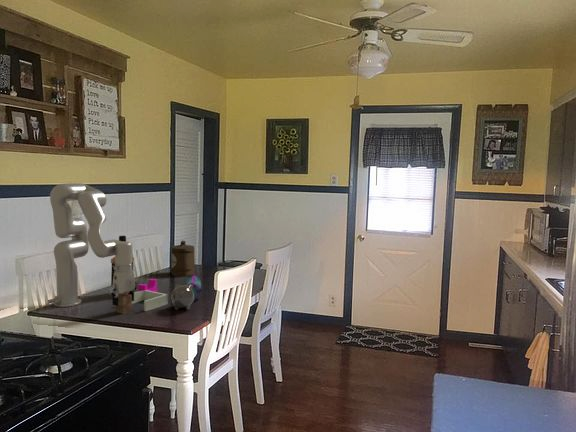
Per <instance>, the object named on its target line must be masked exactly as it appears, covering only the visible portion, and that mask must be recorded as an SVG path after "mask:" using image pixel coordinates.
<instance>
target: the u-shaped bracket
mask: <svg viewBox="0 0 576 432" xmlns="http://www.w3.org/2000/svg"><path fill="white" fill-rule="evenodd" d="M140 302H143V311H144V312H148V311H152V310H154V309H157V308H160V307H164V306H166V305H169V294H168V293H162V292H152V291H147V290H145V291H139V292H138V291H135V293H134V301H132V305H133V304H136V303H140Z"/></svg>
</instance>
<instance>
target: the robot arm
mask: <svg viewBox="0 0 576 432" xmlns="http://www.w3.org/2000/svg"><path fill="white" fill-rule="evenodd" d="M49 199H50V200H49V201H50V205H51V209H52V215H53V223H54V225H53V226H54V233H55V235H56V236H57V238H59V239H68V238H71V239H68V240H63V241H59V242H58V243H57V244H55V246H54V247H53V256H54V260H55V272H56V275H55V276H56V277H55V278H56V295H55V296H54V297H53V298H50V299H48V300H47V303H48V305H49V304H53V306H54V307H59V308H60V307H62V308H65V307H66V308H68V307H74V306H78V305H80V304H81V303H82V299H80V298H78V297H79V292H78V290H79V289H78V287H79V286H78V285H79V284H78V283H79V282H78V266H77V263H76V261H75V259H79V258H82V257H85V256H87V254H88V252H89V250H90V249H89V248H91V250H92V252H93V254H94V255H96V257H98V258H103V259H104V258H107V257H112V256H114V257H115V267H114V270H115V271H114V276H113V285H112V286H111V285H110V287H109V288H108V289H107V291H108V293H109V296H110V295H111V296H110V297H111V298H112V300H111V301H112V306H118V297H117V296H118V295H119V293H124V292H128V291H129V293H128V294H129V295H132V301H134V293H135V292H136V290H138V285H139V282H138V281H136V279H135V272H134V271H133V270H134V269H133V270H132V257H133V244H132V242H131V241H126V242H125V241H123V242H122V241H119V239H108V240H103V238H102V235H101V231H100V230H101V226H102V225H103V224H104V223H105V222H106V220H107V216H106V214H105V211H104V210H103V207H105V206H106V204H107V200H108V199H107V196H106V194H105V193H104V192H103V191H101V190H99V189H97V188H95V187H92V186H90V185H88V184H85V183H82V182H81V183H78V182H75V183H72V182H71V183H69V182H68V183H59V184H57V185H56V186H54V187H53V188H52V189H51V191H50V194H49ZM72 201H73V202H74V201H77V202H78V205H79V208H80V210H81V211H82V213H83V215H84V217H85V219H86V221H87V224H88V227H87V224H86V222H85V221H84V220H83V219H82V218H81V217H73V210H72V208H71V205H70V203H68V202H72ZM89 246H90V247H89ZM115 293H116V294H115Z"/></svg>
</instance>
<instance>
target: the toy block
mask: <svg viewBox="0 0 576 432" xmlns="http://www.w3.org/2000/svg"><path fill="white" fill-rule="evenodd" d="M157 285H158V279H157V278H149V279H148V284H147V283H146V284H145V283H140V284H139V283H138V285H137V292H139V291H145V290H147V291H152V292H158V286H157ZM158 293H159V292H158Z"/></svg>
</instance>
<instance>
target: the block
mask: <svg viewBox="0 0 576 432" xmlns="http://www.w3.org/2000/svg"><path fill="white" fill-rule="evenodd" d="M117 297H118V306H116V307H115V312H116V313H118V312H119V313H118V314H123V315H124V314H128V313H130V312H132V311H133V304H132V295H129V294H125V293H124V294H120V295H118V296H117Z"/></svg>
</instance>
